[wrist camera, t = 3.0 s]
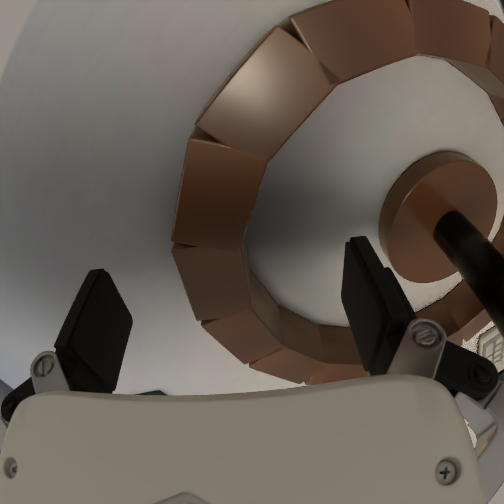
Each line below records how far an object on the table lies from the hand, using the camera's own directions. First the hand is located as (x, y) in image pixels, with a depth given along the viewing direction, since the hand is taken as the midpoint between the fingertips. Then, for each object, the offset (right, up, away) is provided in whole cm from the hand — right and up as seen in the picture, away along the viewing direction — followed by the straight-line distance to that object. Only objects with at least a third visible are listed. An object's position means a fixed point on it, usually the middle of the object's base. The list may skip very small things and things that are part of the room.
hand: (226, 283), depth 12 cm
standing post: (+10, +3, +2) cm, 11 cm away
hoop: (+8, +3, +2) cm, 9 cm away
